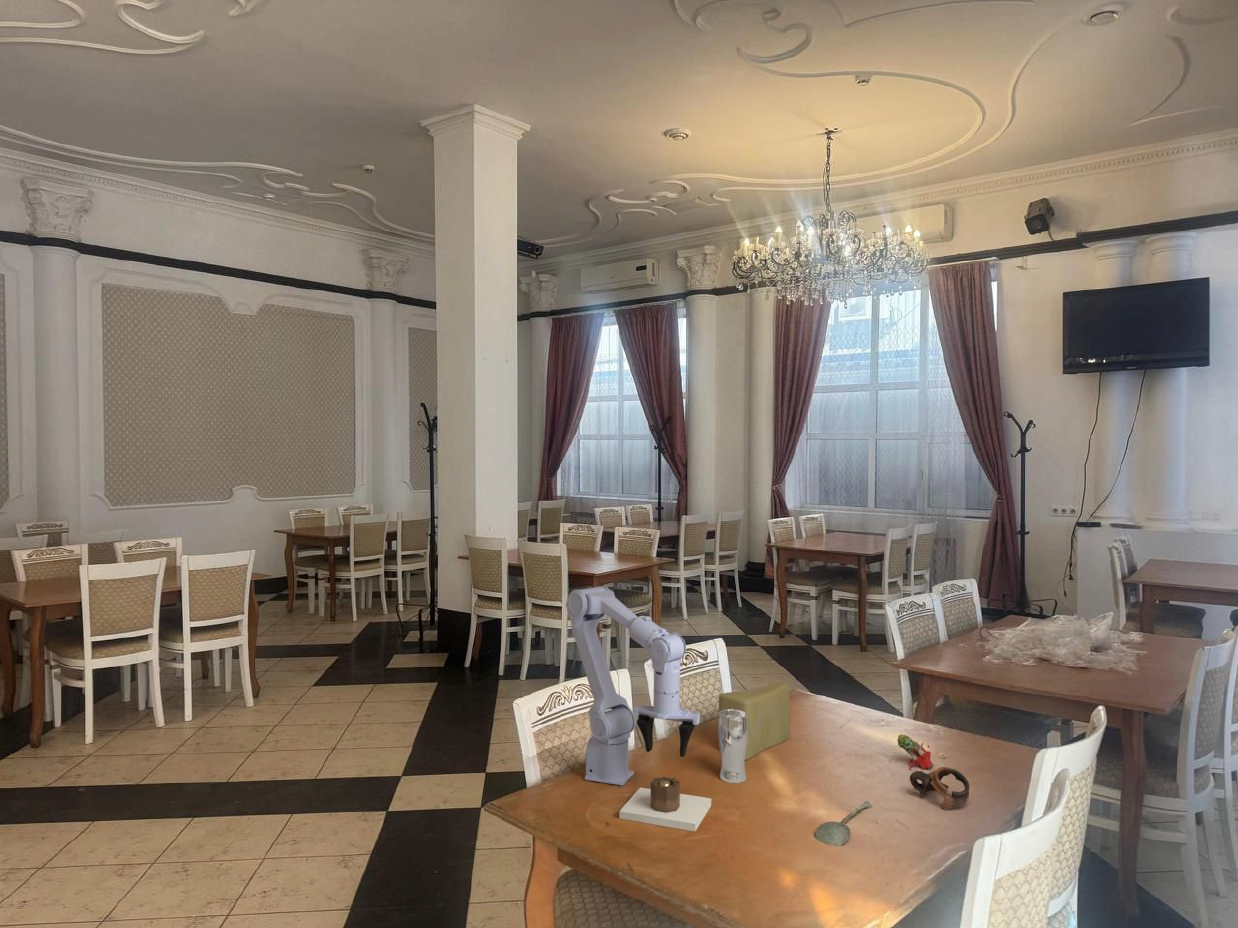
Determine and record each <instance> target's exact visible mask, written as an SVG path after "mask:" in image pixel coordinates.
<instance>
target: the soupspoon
mask: <svg viewBox="0 0 1238 928" xmlns="http://www.w3.org/2000/svg"><path fill="white" fill-rule="evenodd" d="M872 806H873V805H872V802H871V801H870V800H864V802H863V804H861V805H860V806H858V807H856V808H855V809H854V810H853V811H851V812H850V813H849V814H848V815H846V816H844V818H843V819H842V820H841V821H840V822H838V821H829V822H827V821H826V822H823V823H821V824H820V825H819V826H818V827H817V828H816V829H815V832H814V836H815V839H816V840H817V841H818V842H820V843H823V844H825V845H828V846H836V847H842V846H843V845H845V844H846V843H847V842H848V840H849V839H850V837H851V829H850V827H848V826H847V825H845V824H846V823H847V822H848V821H849V820H850V819H852V817H853V816H854V815H856V814H857V813H858V812H860V811H861V810H864V809H871V808H872Z"/></svg>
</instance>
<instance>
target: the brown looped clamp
mask: <svg viewBox="0 0 1238 928" xmlns="http://www.w3.org/2000/svg"><path fill="white" fill-rule="evenodd" d="M949 775H952V776H953V777H955V780H957V781H959V782H961V783H962V784H963V786H964V789H963V790H962V791H954V790H952V792H951V794H949V793H948V789H949V785H947V784H945V783H943V782H942V779H943V778H944V777H947V776H949ZM918 780H919V781H920V782H921V783H920V782H919V781H918ZM909 781H910V784H911V786H912V787H913V788H914V789H915V790H917V791H918V792H919V793H920V796H921V797H925V796H926V795H927V793H930V792H937V793H938V794H939V795H940V796H941V797H942V798H943V801H942V803H941V804H940V807H941V808H942V809H944V810H946V811H949V810H950V809H952V807H953V808H954V807H957V806H960V805H963V804H964V803H966V802H967V801H968V799H969V798H970V797H969V796H970V791H969V790H970V783H969V781H968V779H967V778H966V776H964V774H962V773H961V772H960V771H958V770H956V769H955V768H952V767H947V766H942V767H941V766H940V767H938V768H937V769H935V770H932V771H931V772H929V773H926V772H923V770H922V771H921V770H915V771H913V772H911V774H910V776H909Z"/></svg>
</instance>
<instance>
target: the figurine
mask: <svg viewBox="0 0 1238 928" xmlns="http://www.w3.org/2000/svg"><path fill="white" fill-rule="evenodd" d="M896 741H897V745H898V746H899V748H900V749H903V750H904V751H905V752H906V753H907V754H909V755H910V759H909V762H910V764H909V771H912V768H911V767H914V766H915V765H918V766H919V767H920V768H921V770H922V771H923V770H926V769H929V768H931V767H933V766H934V764H933V762H932V761H931V756H932V751H927V750H926V749H925V748H924V747H923V745H924V742H922V743H921V744H919V743H918V742H917V741H916V740H913V739H912V738H911V737H910V736H908V735H906V734H898V737H897V740H896ZM930 747H931V746H930V745H929V744H928V745H927V748H928V749H929V748H930Z"/></svg>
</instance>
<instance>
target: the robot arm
mask: <svg viewBox="0 0 1238 928" xmlns="http://www.w3.org/2000/svg"><path fill="white" fill-rule="evenodd" d="M565 607H566V610H567V614H568V617H569V619H570V623H571V630H572V634H573V637H574V640H575V643H576V646H577V650H578V653H579V657H580V660H581V662H582V667H583V669H584V672H585V676H586V678H587V682H588V685H589V689H590V691H591V694H592V698H593V703H592V705H591V706H590V708H589V710H588V712H587V713H588V716H589V717H588V718H589V726H590V732H591V735H592V736H591V737H589V739H588V741H587V744H586V749H585V750H586V751H585V776H584V780H585V781H591V782H599V783H602V784H603V783H604V784H611V785H617V786H624V785H625V784H626V783H627V782H628V780H630V778H631V777H633V775H634V774H635V771H633V770H629V739H630V738H631V733H632V732H633V731H634V730H635V727H636V725H637V726H638V728H639V730H640V733H641V735H642V738H643V742H644V745H645V750H646V752H647V753H650V752H651V751H652V750H653V747H654V741H653V740H654V738H653V731H654V721H655V719H657V720H665V721H672V722H680V723H681V724H680V725H679V726H678V731H679V742H680V743H679V757H681V758H684V757H685V756H686V754H687V749H688V748H687V747H688V745H689V741H690V738H691V736H692V733H693V731H694V729H695V727H696V726H699V724H700V723H701V714H700V713H697V712H692V711H689V710H685V709H682V708H681V707H680V706H681V704H680V703H681V659H683V658H684V657H685V655H686V652H687V644H686V641H685V639H684V638H683V637H682V636H681V635H680V634H679V633H678V632H669V631H667V629H665V628H662V627H660V626H659V625H658V624H657V623H655V622H654V621H653V620H652V617H650V616H649V615H648V616H646V615H640V616H637V615H636V614H635V613H634V612H633V611H631V610H630V609H629V608H628V606H626V605H625V604H623V602H621V601H620V600H619V599H618V598H617V597H616V595H615V592H614V591H613V590H611V589H609V588H608V587H607V586H606V585H599V586H595V587H589V588H588V587H587V588H584V589H583V588H582V589H573V590H572V591H571V592H570V593H569V595H568V597H567V600H566V602H565ZM606 616H607V617H609V618H611V619H612V620H614V621H615V622H617V623H618V624H620V625H621V626H623V627H624V628H626V629H627V630H628V635H629V637H630V638H631V639H632V640H633V641H635V642H636V643H637V644H638V645H640V646H641V647H642V648H644V649H645V650H647V651H648V656H649V657H650V660H651V668H653V669H652V670H653V704H652V705H638V704H637V705H636V706H634V707H633V710H632V708H630V706H629V704H628V701H627V699H626V697H625V698H624V697H623V696H621V695H620V694H619V693H617V691H616V688H615V685H614V682H613V679H612V676H611V672H610V669H609V666H608V663H607V660H606V657H605V653H604V650H603V647H602V645H601V641H600V638H599V635H598V632H597V628H598V626H599V623H600V622H602V620H603V618H604V617H606ZM607 710H608V711H607ZM636 718H637V720H636Z"/></svg>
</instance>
